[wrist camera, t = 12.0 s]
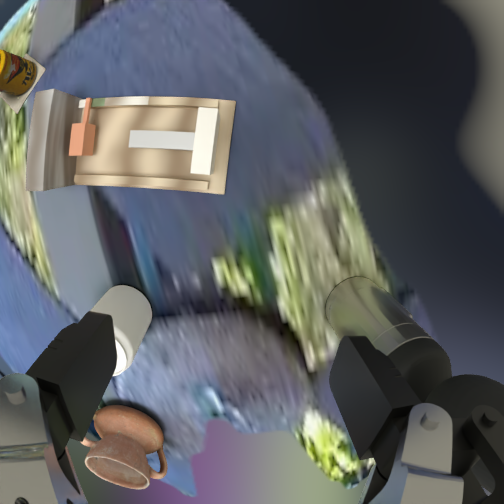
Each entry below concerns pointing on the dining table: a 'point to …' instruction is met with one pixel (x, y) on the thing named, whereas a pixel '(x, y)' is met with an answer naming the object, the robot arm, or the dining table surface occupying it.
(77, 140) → the orange stepped bar
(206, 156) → the plunger
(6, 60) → the condiment
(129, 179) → the frame
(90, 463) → the ceramic jug
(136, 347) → the beverage can
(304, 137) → the dining table surface
